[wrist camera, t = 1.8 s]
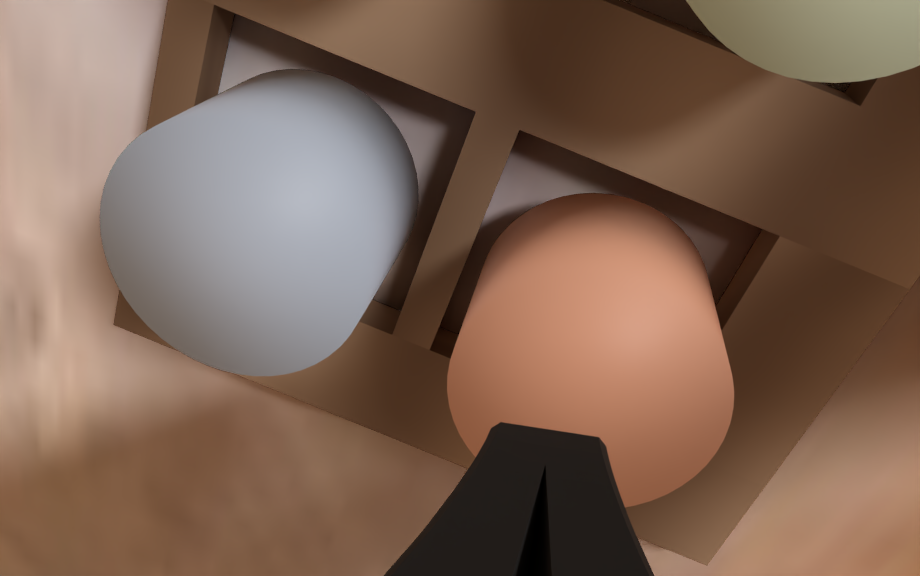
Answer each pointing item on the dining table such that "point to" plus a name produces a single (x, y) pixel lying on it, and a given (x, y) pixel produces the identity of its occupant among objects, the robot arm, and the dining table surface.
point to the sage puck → (818, 36)
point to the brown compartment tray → (638, 154)
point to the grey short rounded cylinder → (260, 221)
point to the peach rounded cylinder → (598, 341)
